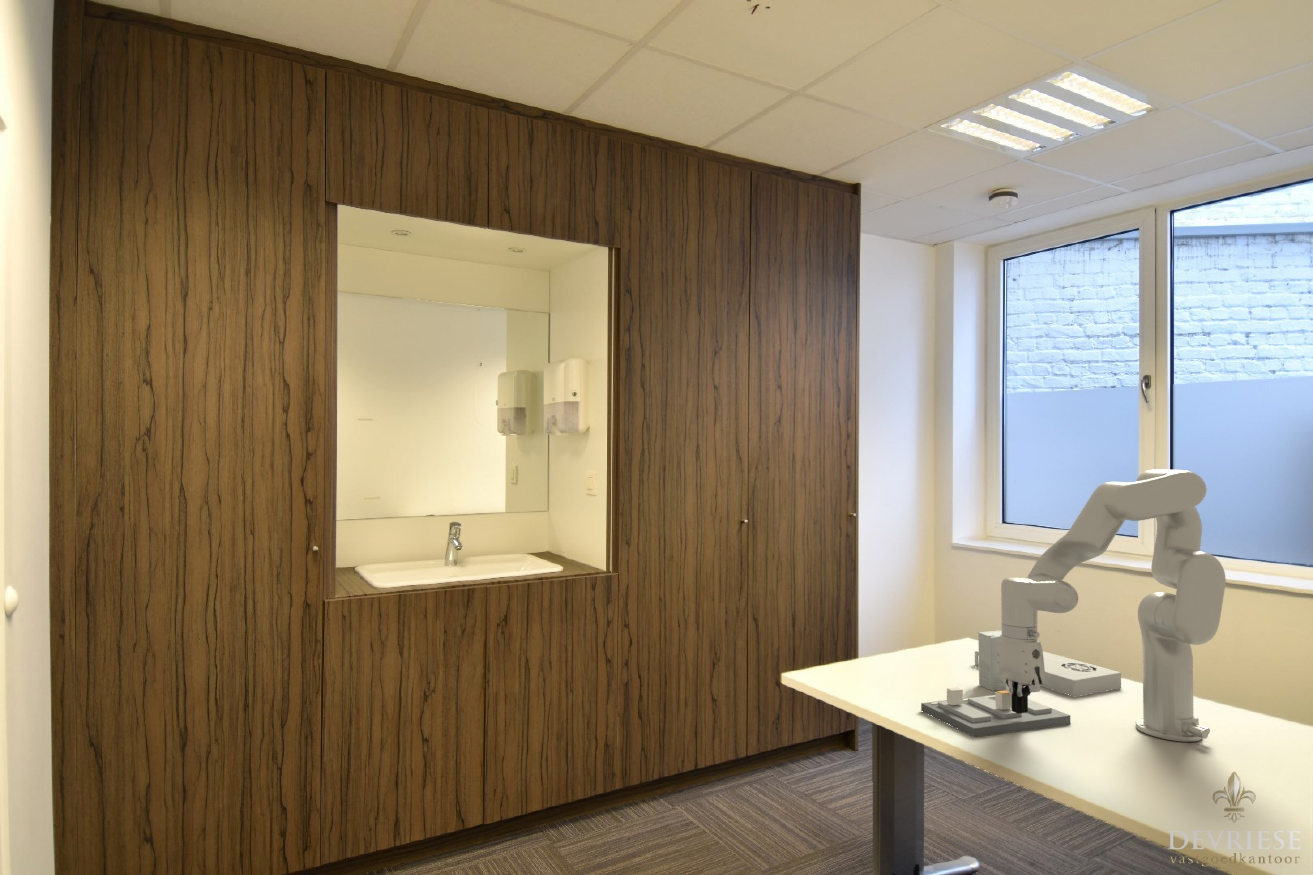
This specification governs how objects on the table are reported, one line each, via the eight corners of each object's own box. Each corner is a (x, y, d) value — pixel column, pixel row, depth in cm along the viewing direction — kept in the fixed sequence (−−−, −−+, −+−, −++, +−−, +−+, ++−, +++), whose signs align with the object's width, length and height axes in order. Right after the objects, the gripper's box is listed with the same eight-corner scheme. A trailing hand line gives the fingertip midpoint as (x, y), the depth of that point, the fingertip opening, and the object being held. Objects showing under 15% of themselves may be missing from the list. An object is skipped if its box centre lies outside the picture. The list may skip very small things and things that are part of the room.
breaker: (962, 704, 180) (962, 689, 180) (952, 705, 179) (952, 690, 179) (956, 701, 182) (956, 686, 182) (946, 702, 181) (946, 688, 181)
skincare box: (1004, 683, 208) (1003, 629, 208) (1018, 689, 202) (1018, 634, 202) (977, 684, 206) (977, 630, 207) (991, 691, 200) (991, 635, 201)
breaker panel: (1070, 723, 176) (1070, 711, 176) (973, 737, 167) (973, 723, 167) (1011, 700, 193) (1011, 688, 193) (921, 711, 184) (921, 699, 184)
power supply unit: (1019, 660, 234) (1019, 644, 234) (1121, 690, 204) (1121, 672, 204) (974, 667, 226) (974, 650, 226) (1074, 699, 196) (1074, 680, 196)
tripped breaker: (1012, 708, 177) (1011, 692, 177) (1001, 709, 176) (1001, 693, 176) (1005, 705, 179) (1005, 689, 179) (995, 706, 178) (995, 691, 178)
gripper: (1058, 638, 167) (1059, 721, 167) (1007, 624, 181) (1007, 700, 181) (1032, 640, 165) (1032, 724, 164) (982, 626, 179) (982, 703, 178)
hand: (1019, 711), depth 173 cm, fingers closed
